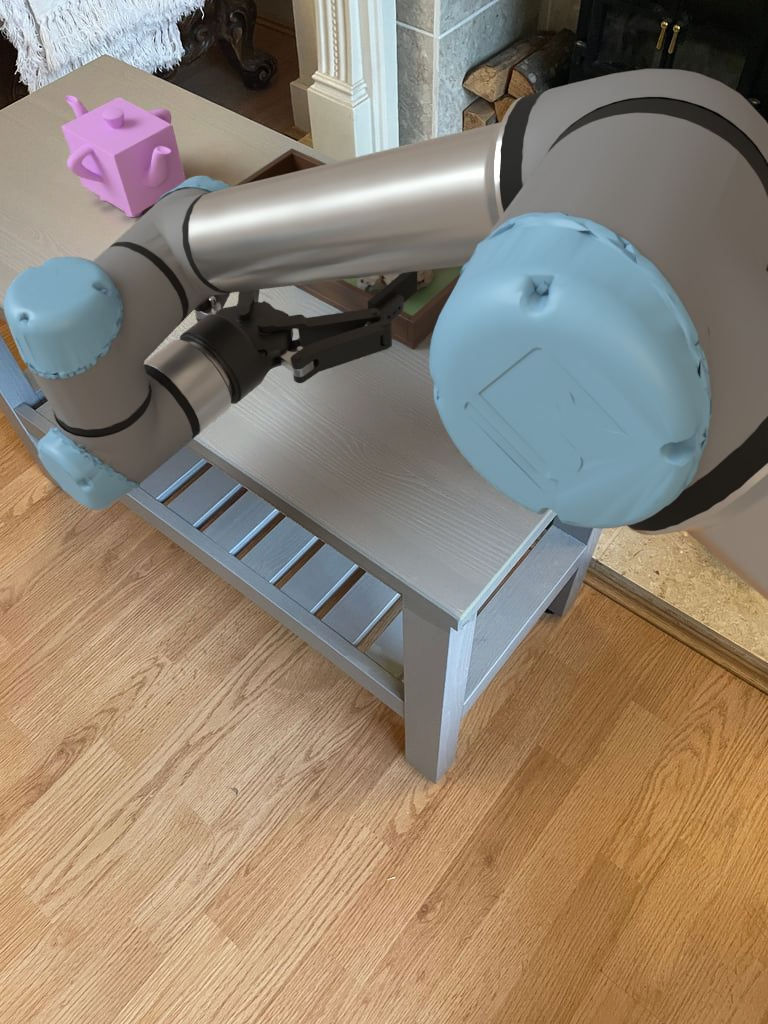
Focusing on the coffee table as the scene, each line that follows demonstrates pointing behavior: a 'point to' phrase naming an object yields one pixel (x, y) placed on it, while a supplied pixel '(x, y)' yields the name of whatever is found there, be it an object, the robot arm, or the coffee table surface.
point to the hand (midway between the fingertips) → (360, 251)
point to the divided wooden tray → (345, 293)
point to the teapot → (124, 153)
